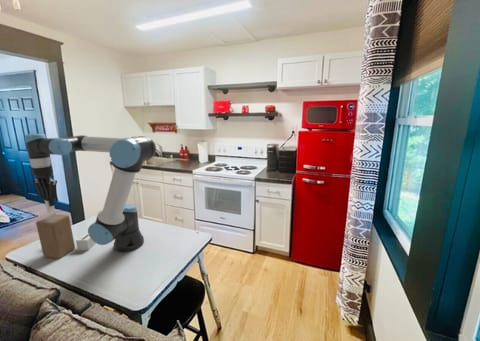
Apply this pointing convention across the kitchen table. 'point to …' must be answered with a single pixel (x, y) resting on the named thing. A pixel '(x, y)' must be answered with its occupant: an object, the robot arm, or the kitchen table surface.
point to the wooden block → (55, 235)
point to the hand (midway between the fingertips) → (51, 211)
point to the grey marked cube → (85, 242)
